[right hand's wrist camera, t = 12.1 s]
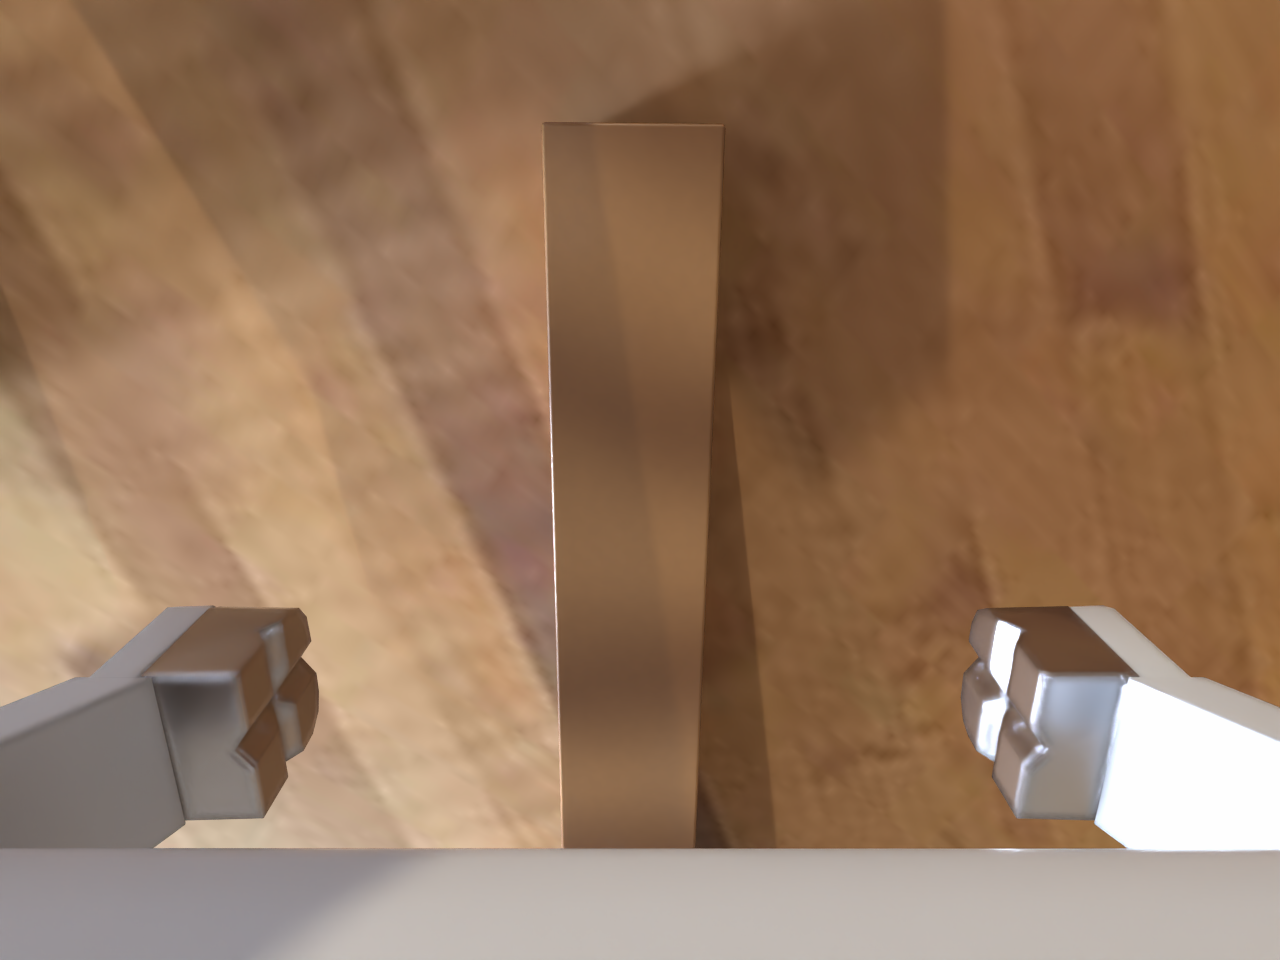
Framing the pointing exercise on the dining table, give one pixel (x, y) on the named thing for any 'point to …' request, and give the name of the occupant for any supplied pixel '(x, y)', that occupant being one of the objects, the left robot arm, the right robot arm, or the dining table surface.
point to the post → (631, 466)
